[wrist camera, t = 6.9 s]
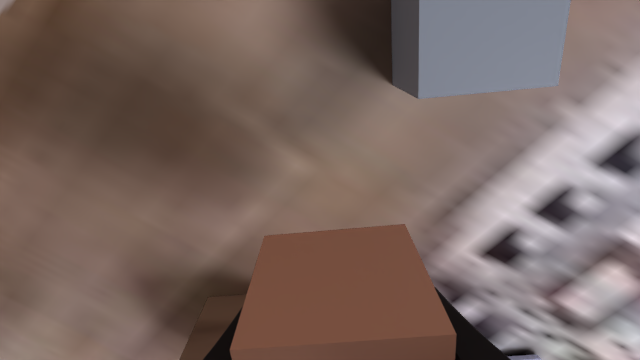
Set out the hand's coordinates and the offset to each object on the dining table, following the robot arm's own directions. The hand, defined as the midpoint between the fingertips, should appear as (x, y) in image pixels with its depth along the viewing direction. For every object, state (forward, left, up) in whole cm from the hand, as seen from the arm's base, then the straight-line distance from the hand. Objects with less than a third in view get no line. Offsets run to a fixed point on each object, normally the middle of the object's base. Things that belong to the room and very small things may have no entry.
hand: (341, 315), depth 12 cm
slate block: (+9, -6, -8) cm, 14 cm away
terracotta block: (0, 0, -2) cm, 2 cm away
